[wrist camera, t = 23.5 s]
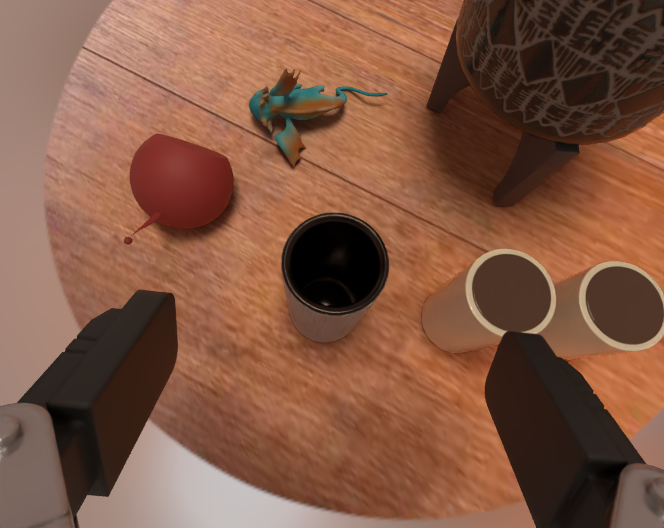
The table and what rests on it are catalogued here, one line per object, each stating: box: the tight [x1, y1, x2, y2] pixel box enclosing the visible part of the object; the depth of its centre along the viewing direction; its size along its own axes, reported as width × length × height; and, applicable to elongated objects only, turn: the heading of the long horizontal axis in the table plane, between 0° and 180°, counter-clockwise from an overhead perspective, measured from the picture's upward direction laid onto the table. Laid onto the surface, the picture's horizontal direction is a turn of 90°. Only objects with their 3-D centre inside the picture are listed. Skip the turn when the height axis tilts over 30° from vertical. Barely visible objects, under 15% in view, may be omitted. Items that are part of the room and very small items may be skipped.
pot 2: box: [538, 261, 664, 360], centre depth 24 cm, size 4×4×8 cm
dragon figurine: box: [249, 69, 387, 167], centre depth 30 cm, size 6×7×8 cm
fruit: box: [124, 134, 233, 244], centre depth 26 cm, size 6×6×8 cm
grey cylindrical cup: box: [281, 213, 389, 343], centre depth 23 cm, size 4×4×10 cm
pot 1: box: [422, 249, 556, 353], centre depth 24 cm, size 4×4×8 cm
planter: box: [427, 0, 664, 206], centre depth 23 cm, size 13×13×18 cm
